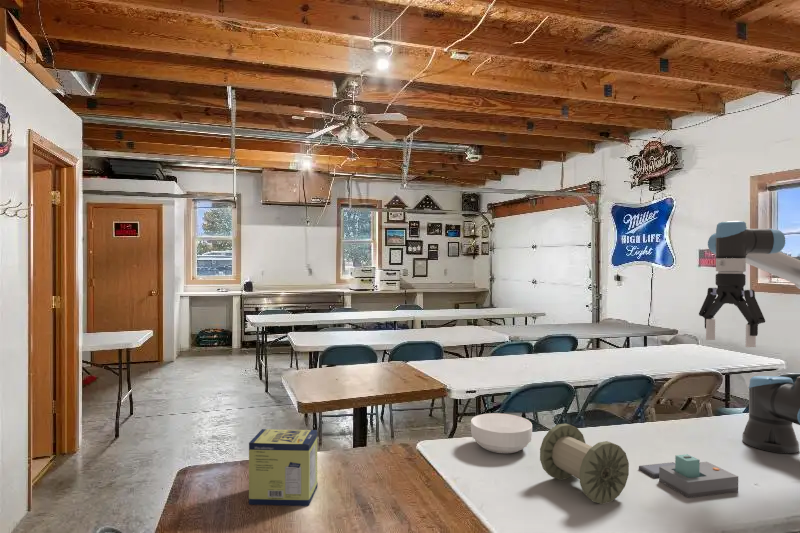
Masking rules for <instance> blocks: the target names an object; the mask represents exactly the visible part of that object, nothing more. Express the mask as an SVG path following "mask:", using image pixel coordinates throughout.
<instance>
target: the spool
mask: <svg viewBox="0 0 800 533" xmlns="http://www.w3.org/2000/svg"><path fill="white" fill-rule="evenodd" d="M539 462H540V464H541V466H542V469H543V470H544V471H545V473H547V475H549V477H551V478H554V479H557V480H559V481H560V480H561V481H562V480H565V479H569V478H572V477H574V478H576V479H578V480H579V484H580V487H581V490H582V493H583V494H584V495H585V496H586V497H587V499H588V500H590V501H592V502H594V503H597V504H601V505H604V504H608V503H611V502H613V501H615V500H616V499H617V498H618V497H619V496H620V495H621V493H622V491H623V490H624V489H625V487H626V485H627V481H628V478H629V469H630V468H629V466H630V463H629V459H628V456H627V454H626V451H625V450H623V448H622V447H621V446H620V445H618V444H615V443H613V442H610V441H608V440H606V441H599V442H597V443H596V444H594V445H593V446H592V445H590V444H587V443H586V440H585V437H584V434H583V432H581V431H580V430H579V428H578V427H576V426H574V425H571V424H568V423H559V424H556V425H555V426H554V427H552V428H550V429H549V430H548V432H546V434H545V436H544V437H543V438H542V443H541V445H540V448H539Z"/></svg>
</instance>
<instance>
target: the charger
mask: <svg viewBox="0 0 800 533" xmlns="http://www.w3.org/2000/svg"><path fill="white" fill-rule="evenodd" d="M674 459H675V460H674V461H675V462H674V463H675V471H676V472H678V473H680V474H681V475H683V476H685V477H687V478H695V477H699V468H700V462H701V461H700V459H699V458H697V457H695V456H693V455H690V454H688V453H686V454H685V453H684V454H676V455H675V458H674Z"/></svg>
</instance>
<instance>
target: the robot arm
mask: <svg viewBox="0 0 800 533" xmlns="http://www.w3.org/2000/svg"><path fill="white" fill-rule="evenodd" d="M785 246H786V236H785V234H784V232H782V230H779V229H777V228H770V227H769V228H748V227H747V223H746V222H745V221H742V220H732V221H730V220H729V221H721V222H718V223H717V224H716V229H715V233H713V234H711V235H710V236H709V237H708V240H707V247H708V250H709V251H710V252H711V253H712V254H715V272H717V273H716V274H715V285H716V286H717V287H708V288H707V293H706V294H707V295H706V297H705V299H704V301H703V303H702V306H701V308H700V310H699V312H698V316H700V317H703V318H704V329H705V340H706V341H715V340H716V319H715V316H716V314H717V313H718V312H719V311H720V310H721V308H722V307H723V306H724V305H725V304H729V305H734V306H735V307H736V308H737V309H738V310H739V312H740V313H741V314H742V316H743V318H744V319H745V320H746V321H747V323H746V324H745V348H756V346H757V345H756V343H757V342H756V341H757V339H756V337H757V336H758V332H759V329H758V328H759V325H760V324H764V323H765V322H766V319H765V317H764V314H763V312H762V310H761V308H760V306H759V302H758V301H757V298H756V294H755V292H756V291H755V290H753V289H744V287H745V286H746V281H747V280H746V278H747V276H746V274H745V272H747V271H746V270H747V265H749V266H752V267H754V268H757V269H760V270H761V271H764V272H766V273H768V274H771V275H772V276H776V277H778V278H781V279H782V280H786V281H787V282H790V283H793V284H794V285H795V287H796V288H797V289H799V290H800V259H797V258H795V257H793V256H790V255H788V254H786V253H784V252H781V251H783V249H784V247H785ZM793 424H795V425H798V426H800V376H797V377H796V380H795V381H793V379H792V378H791V377H788V376H777V375H756V376H755V375H754V376H752V377H750V379H749V384H748V420H747V423H746V424H745V427H744V431H743V432H742V442H743V443H744V444H746V445H748V446H750V447H752V448H755V449H757V450H758V449H759V450H762V451H766V452H770V453H778V454H797V453H798V452H799V451H800V443H799V441H798V438H797V435H796V432H795V430H794V427H793Z"/></svg>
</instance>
